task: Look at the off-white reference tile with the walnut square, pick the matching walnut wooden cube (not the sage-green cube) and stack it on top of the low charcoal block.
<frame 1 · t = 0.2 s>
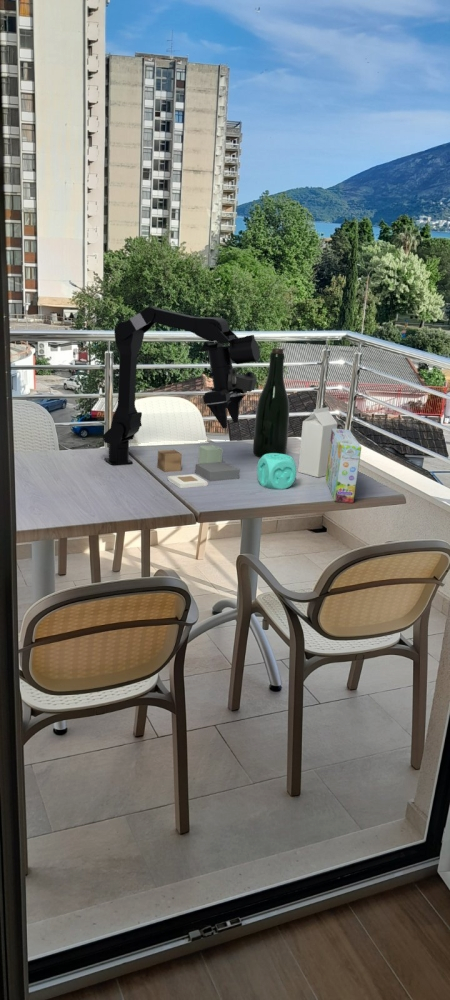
hand: (230, 425, 200), 15 cm above the table, tool pointing down, fingers open, 9 cm apart
reference tile: (187, 482, 200), on the table
walnut cube: (169, 469, 212), on the table
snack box: (339, 492, 201), on the table
sage cube: (209, 464, 220), on the table
green wine bottle: (269, 456, 234), on the table
decorative dice: (275, 486, 202), on the table
milk carton: (315, 474, 217), on the table
charcoal base block: (216, 477, 208), on the table
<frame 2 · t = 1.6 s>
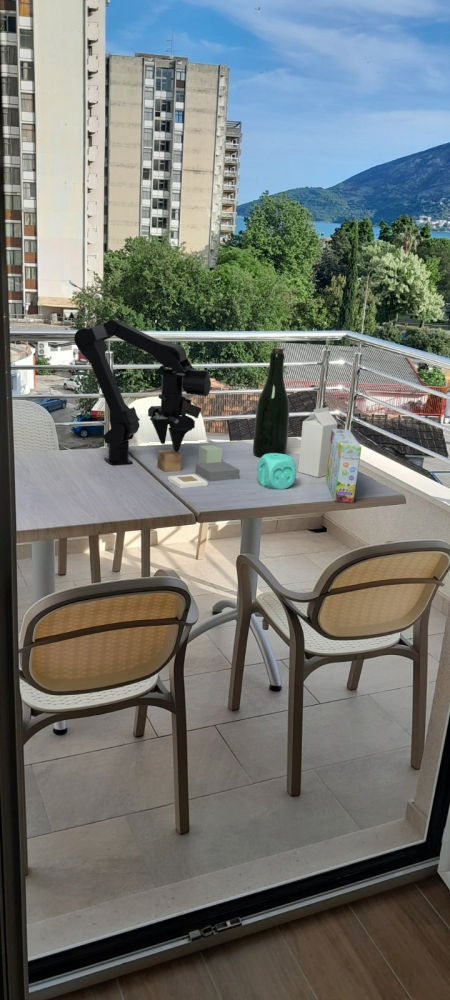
hand: (169, 447, 210), 6 cm above the table, tool pointing down, fingers open, 9 cm apart
nothing on the table moved.
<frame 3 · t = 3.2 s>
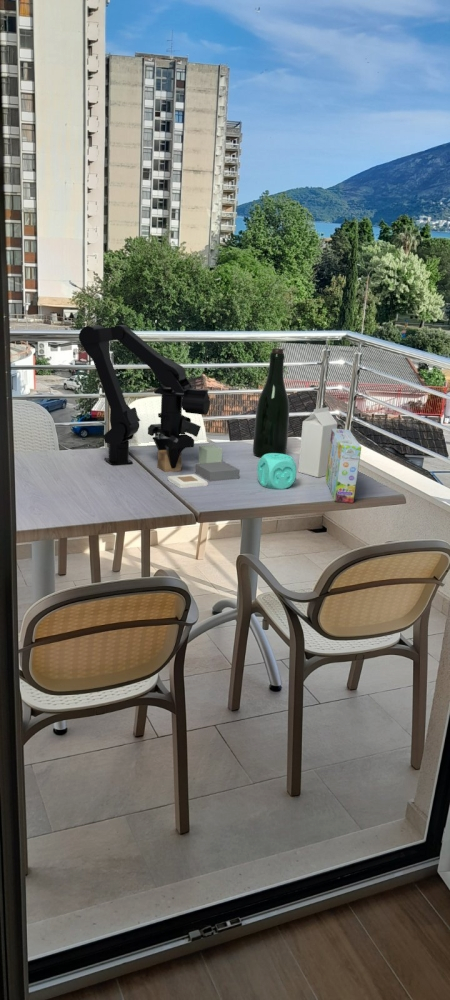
hand: (169, 465, 211), 1 cm above the table, tool pointing down, fingers closed on walnut cube, 5 cm apart
walnut cube: (169, 469, 212), on the table, touching gripper
everything else where it was.
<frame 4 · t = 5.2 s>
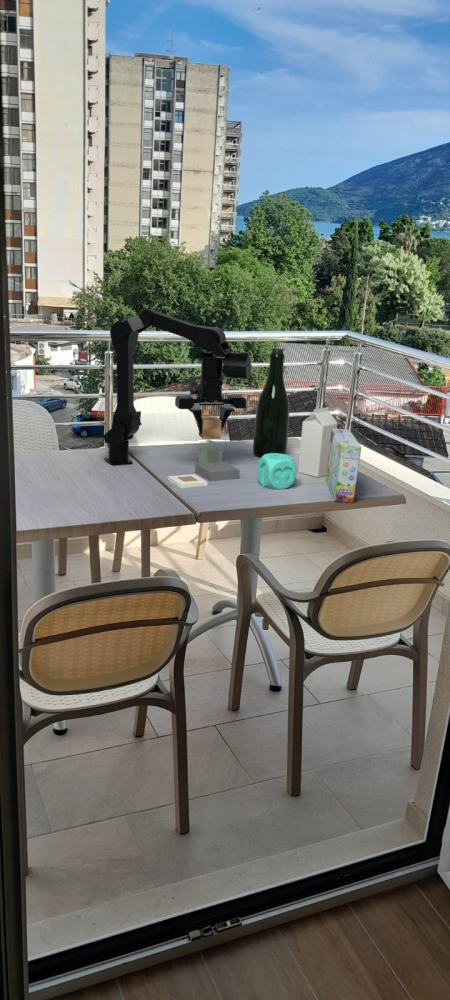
hand: (210, 433, 205), 12 cm above the table, tool pointing down, fingers closed on walnut cube, 5 cm apart
walnut cube: (209, 436, 206), point 11 cm above the table, touching gripper
everything else where it was.
when the fingers open (5 cm above the table, at t = 7.2 s): walnut cube drops 2 cm, resting on charcoal base block.
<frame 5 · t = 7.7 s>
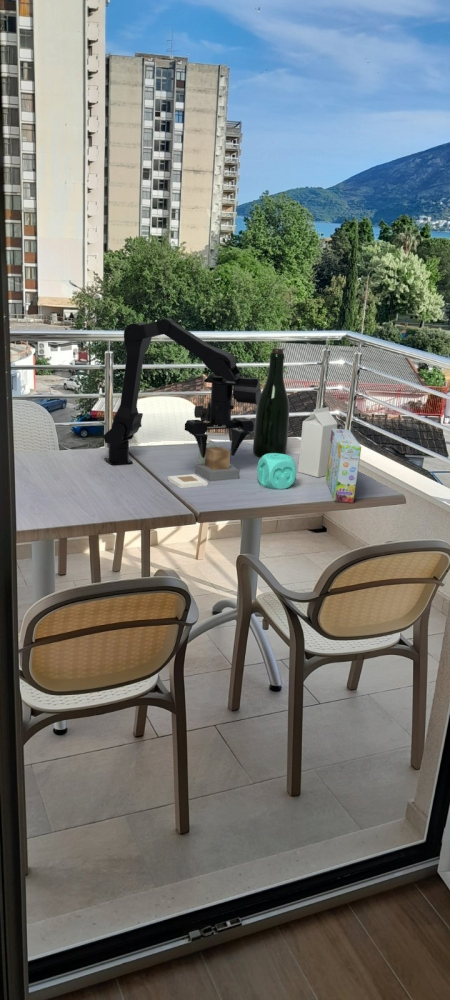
hand: (217, 456, 206), 5 cm above the table, tool pointing down, fingers open, 9 cm apart
walnut cube: (217, 466, 207), point 2 cm above the table, touching charcoal base block
charcoal base block: (216, 477, 208), on the table, touching walnut cube
everything else where it was.
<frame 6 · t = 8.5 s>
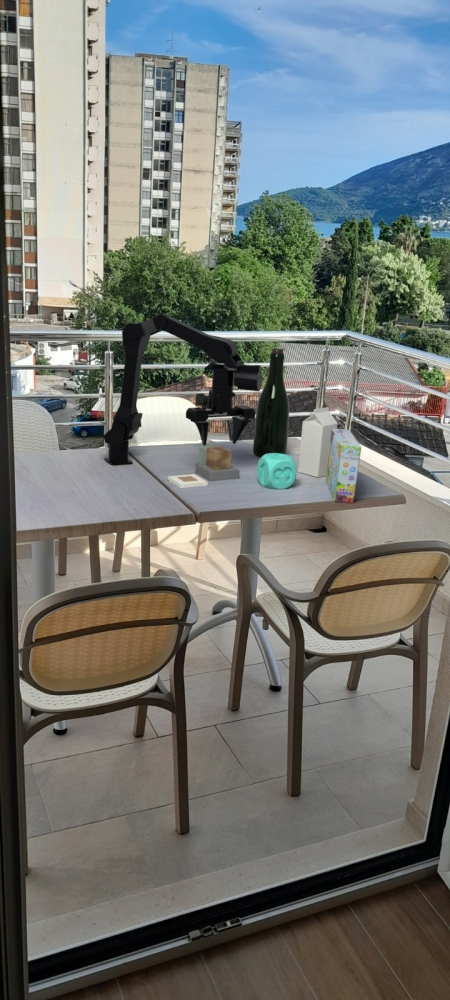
hand: (219, 444, 205), 9 cm above the table, tool pointing down, fingers open, 9 cm apart
walnut cube: (218, 466, 207), point 2 cm above the table
charcoal base block: (216, 477, 208), on the table
everything else where it was.
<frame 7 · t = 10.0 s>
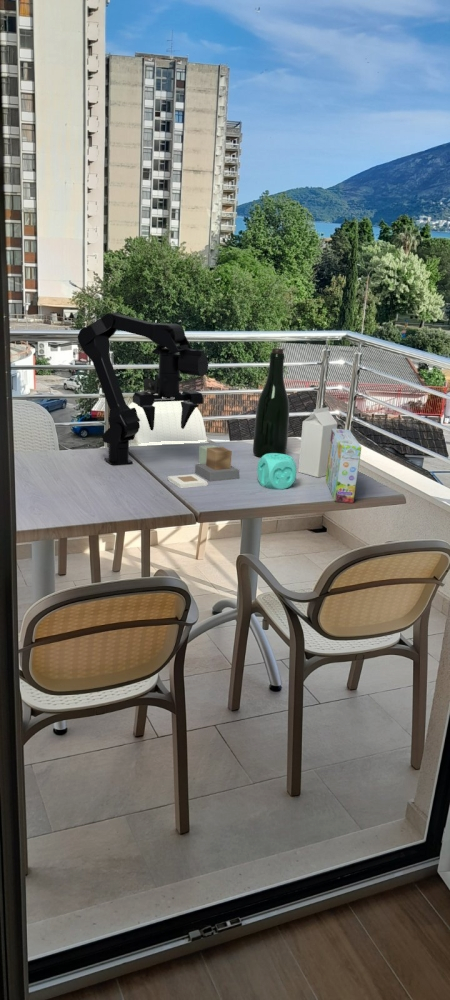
hand: (167, 429, 205), 12 cm above the table, tool pointing down, fingers open, 9 cm apart
walnut cube: (218, 467, 207), point 2 cm above the table, touching charcoal base block
charcoal base block: (216, 477, 208), on the table, touching walnut cube
everything else where it was.
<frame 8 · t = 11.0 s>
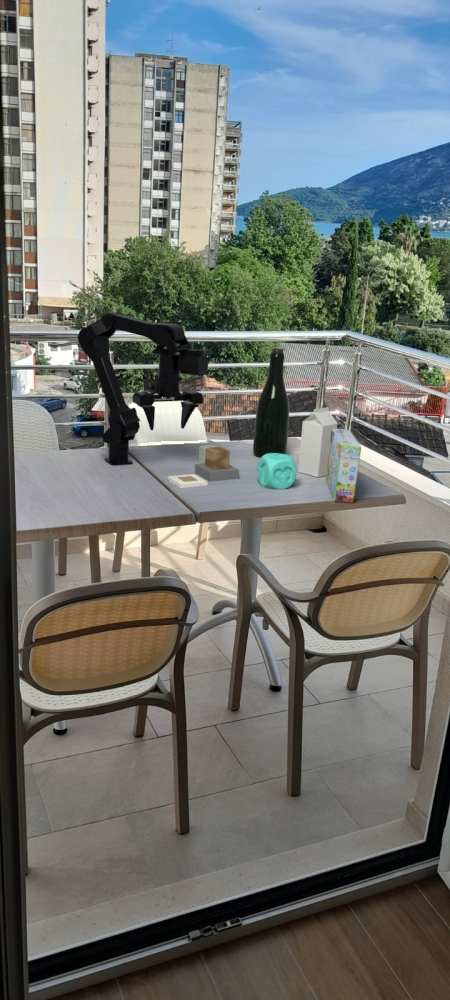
hand: (167, 429, 205), 12 cm above the table, tool pointing down, fingers open, 9 cm apart
nothing on the table moved.
at the end: walnut cube 0.1 cm off-centre on the charcoal base block, point 3.0 cm above the charcoal base block's base; walnut cube tilted 0°; the gripper is holding nothing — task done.
